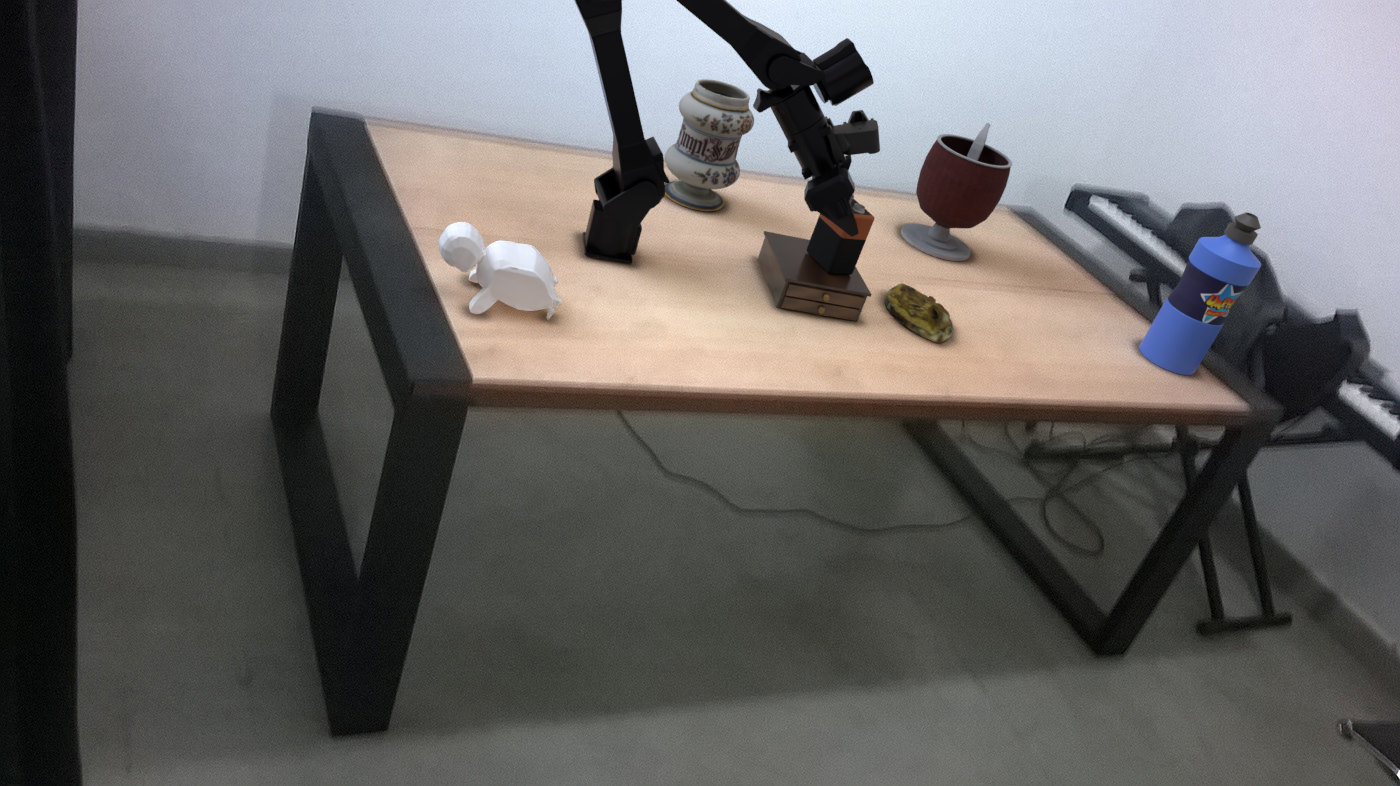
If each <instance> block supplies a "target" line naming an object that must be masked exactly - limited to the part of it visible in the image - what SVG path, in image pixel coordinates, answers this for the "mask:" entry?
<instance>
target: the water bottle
mask: <svg viewBox="0 0 1400 786" xmlns="http://www.w3.org/2000/svg"><path fill="white" fill-rule="evenodd" d="M1233 218H1234V222H1229V223H1228V225H1227V226H1226V228H1225V230H1224V231H1223V233H1224V234H1223V235H1221V236H1202V237H1199V239H1198V240H1197V242H1196V244H1195V245H1194V247H1193V249H1192V250H1191V252H1190V254H1189V256H1188V260H1187V263H1186V266H1185V268H1184V270H1183V272H1182V275H1181V277H1180V279H1179V282H1178V283H1177V285H1175V287H1174V288H1173V290H1172V291H1171V292H1170V294H1169V295H1168V296H1167V297H1166V299H1165V301H1164V302H1163V304H1162V305H1161V308H1160V309H1159V311H1158V313H1157V314H1156V315H1155V318H1154V320H1153V321H1152V323H1151V324H1150V327H1149V328H1148V330H1147V332H1146V333H1145V335H1144V337H1143V338H1142V340H1141V342H1140V344H1139V346H1138V349H1139V352H1140V353H1141V354H1142V356H1144V357H1145V358H1146V359H1147V360H1148V361H1150V362H1151V363H1153V364H1154V365H1155V366H1158V367H1160V368H1162V369H1164V370H1165V371H1169V372H1171V373H1175V374H1177V375H1182V376H1190V375H1191V376H1192V375H1194V374H1195V373H1196V372H1197V370H1198V368H1199V367H1200V365H1201V363H1202V362H1203V360H1204V358H1205V356H1206V355H1207V353H1208V352H1209V350H1210V348H1211V347H1212V345H1213V344H1214V342H1215V340H1216V339H1217V337H1218V335H1219V334H1220V332H1221V330H1222V329H1223V327H1224V325H1225V322H1226V320H1227V318H1228V315H1229V313H1230V310H1231V308H1232V306H1233V305H1234V304H1235V302H1236V301H1237V300H1238V299H1239V297H1240V296H1241V295H1242V293H1243V292H1244V291H1245V290H1246V289H1247V287H1248V286H1250V285H1251V283H1252V282H1253V280H1254V279H1255V277H1256V275H1257V273H1258V272H1259V270H1260V268H1261V267H1262V263H1261V261H1260V260H1259V259H1258V257H1257V256H1256V255H1255V254H1254V253H1253V252H1252V249H1251V247H1250V246H1252V245H1253V244H1254V242H1255V241H1256V240H1257V238H1258V235H1259V234H1258V232H1256V231H1257V230H1260V229H1261V228H1262V227H1261V224H1260V220H1259V217H1258V216H1257V215H1255V214H1254V213H1251V212H1243V213H1240V214H1238V215H1235V216H1234V217H1233Z"/></svg>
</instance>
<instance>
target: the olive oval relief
mask: <svg viewBox="0 0 1400 786" xmlns="http://www.w3.org/2000/svg"><path fill="white" fill-rule="evenodd" d="M936 301H937V299H936V298H934V297H933V296H932V295H929V296H928V295H926V294H924V293H922V292H920V291H919V290H918V289H916V288H914V287H912V286H910V285H908V284H905V283H898V284H897V285H895V286H893V287H891V288H890V289H889V290H888V291H887V292H886V294H885V296H884V305H885V306H886V308H887V310H888V311H889V312H890V313H891V314H892V315H893V316H894V317H895V318H896V319H897V320H898V321H899V322H900V323H901V324H903V325H904V326H905V327H906V328H907V329H909V330H910V331H911V332H912V333H913V332H914V333H915V334H917V335H919V336H921V337H923V338H925V339H926V340H929V341H932V342H934V343H939V344H940V343H943V342H946V341H948V340H949V339H950V338H951V336H952V335H953V331H954V329H953V328H954V326H953V321H952V319H951V315H950V312H949V311H948V310H947V309H946V308H945V307H944V305H943V304H941V303H940V302H936Z"/></svg>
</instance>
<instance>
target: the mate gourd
mask: <svg viewBox="0 0 1400 786" xmlns="http://www.w3.org/2000/svg"><path fill="white" fill-rule="evenodd" d="M990 128H991V124H990V123H989V122H985V125H984V126H983V127H982V128H981V129H980V131H979V133H978V134H977V135H976V137H975V139H973V138H970V137H966V136H961V135H957V134H950V133H943V134H939V135H937V137H936V140H935V141H934V143H933V144H932V145H931V148H930V149H929V151H928V152H927V154H926V156H925V158H924V161H923V163H922V166H921V168H920V170H919V171H920V172H919V175H918V180H917V183H916V190H915V194H916V198H917V202H918V205H919V208H920V209H921V211H922V212H923V213H924V214H925V215H926V216H928V217H929V218H930V219H931V220H932V221H933V222H934V224H933V225H927V224H923V223H922V224H921V223H907V224H904V225H903V226H902V228H901V230H900V235H901V236H902V239H904V240H905V242H907V243H908V244H909V245H910V246H911V247H914V248H915V249H916V250H918V251H920V252H923V253H925V254H927V255H929V256H932V257H934V258H938V259H941V260H945V261H950V262H965V261H967V260H968V259H969V258H970V255H971V249H970V247H969V245H967V244H966V243H965V242H964V241H962V240H961V239H960V238H959V237H957V236H955V235H953V234H951V233H950V232H951V229H972V228H975V227H976V226H978V225H980V224H982V223H983V222H985V221H987V219H989V217H990V216H991V215H992V213H993V212H994V210H996V207H997V206H998V204H999V202H1000V201H1001V199H1002V198H1003V197H1002V196H1003V194H1004V192H1005V191H1006V188H1007V185H1008V181H1009V177H1010V172H1011V168H1012V166H1013V162H1012V159H1010V158H1009V157H1008V156H1007V155H1006V154H1005V153H1003V152H1002V151H1000V150H998V149H996V148H994V147H992V146H991V145H988V144H986V142H987V139H988V138H987V137H988V135H989V130H990Z"/></svg>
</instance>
